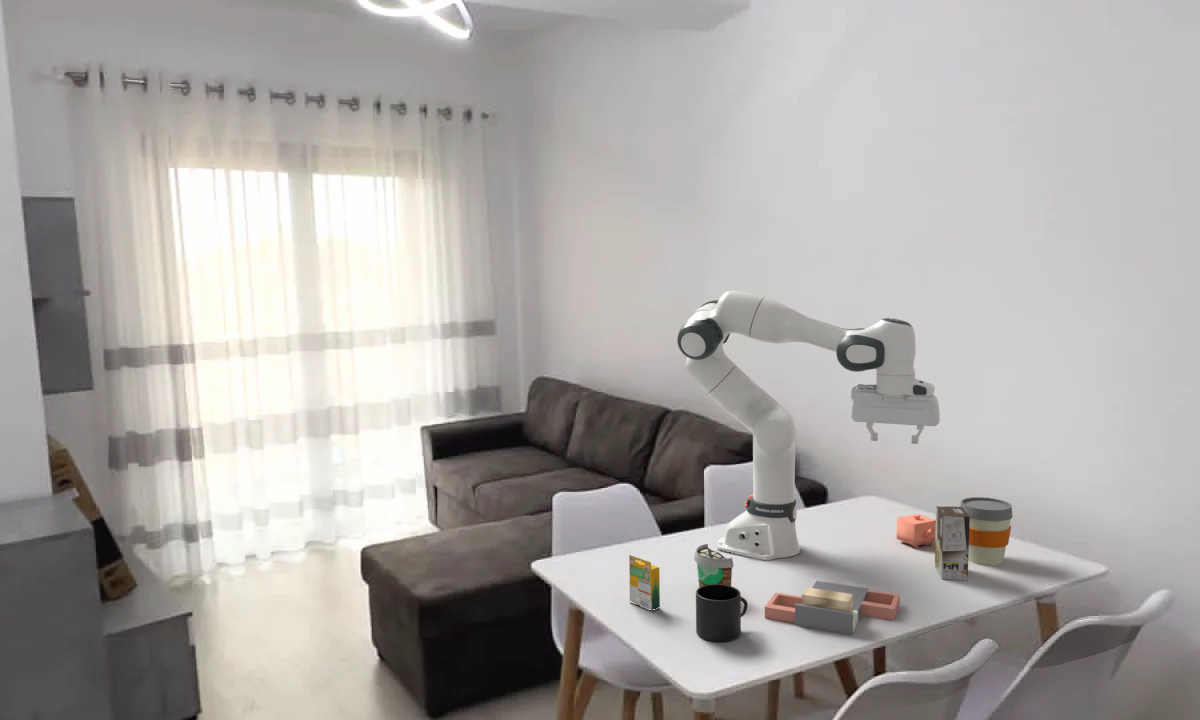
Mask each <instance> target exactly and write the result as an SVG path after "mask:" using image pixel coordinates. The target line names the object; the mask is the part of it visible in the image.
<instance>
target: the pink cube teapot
mask: <svg viewBox="0 0 1200 720" xmlns="http://www.w3.org/2000/svg"><path fill="white" fill-rule="evenodd" d="M935 535H936V519H933V518H932V517H928V516H926V515H923V514H920V513H918V514H917V513H915V514H912V515H902V516H900V517H897V518H896V539H897V540H899V541H901V542H903V543H902V544H908V545H911V546H912V547H913V548H914V547H919V548H920V545H921V546H922V545H924V546H926V545H930V546H931V543H935Z"/></svg>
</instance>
